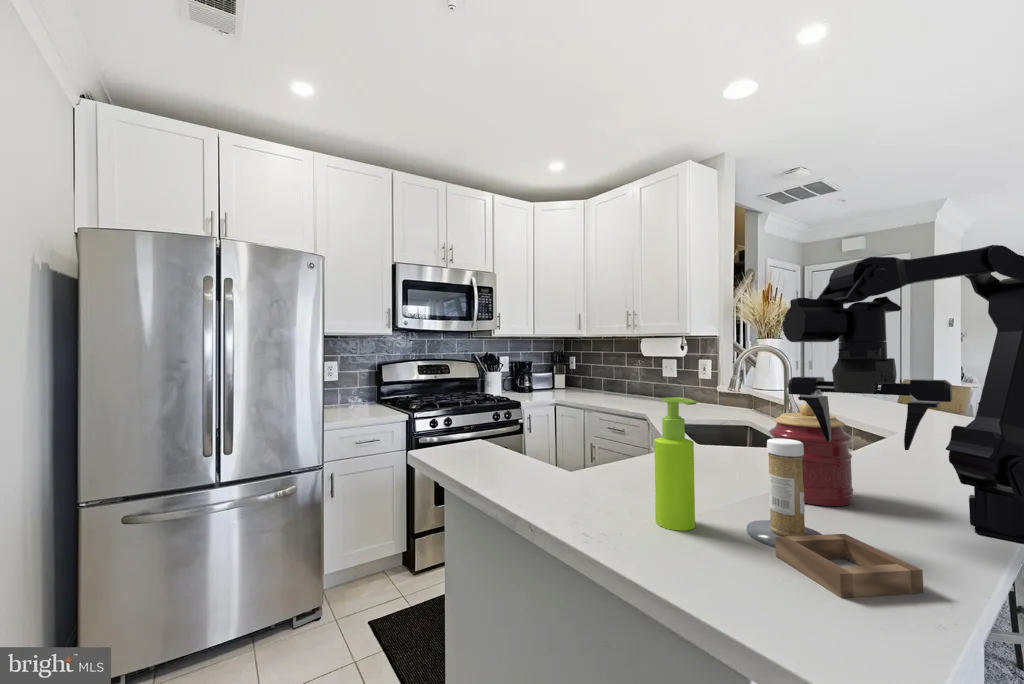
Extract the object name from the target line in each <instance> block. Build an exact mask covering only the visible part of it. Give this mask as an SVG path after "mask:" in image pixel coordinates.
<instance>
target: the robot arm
mask: <svg viewBox="0 0 1024 684" xmlns="http://www.w3.org/2000/svg"><path fill="white" fill-rule="evenodd" d="M995 272H996V273H998V274H999V275H1001V276H1004V277H1007V278H1004V279H1001V280H1000V279H999V278H997V277H996V276H994V275H993V274H992V273H995ZM958 277H965V278H966V279H968V280H969V281H970V284H971V286H972V289H973V292H974V293H976V294H977V295H978V296H979V297H981V298H982V299H984V300H985V301H987V302H988V304H987V305H988V307H987V309H988V310H987V314H988V316H989V318H990V319H991V321H992V322H993V324H994V327H995V328H996V329H997V331H996V334H995V339H994V343H993V347H992V351H991V355H990V360H989V364H988V367H987V371H986V375H985V379H984V382H983V383H984V384H983V387H982V391H981V395H980V400H979V402H978V406H977V411H976V415H975V417H974V419H973V420H971V422H970V423H968V424H967V425H966V426H961V425H957V424H956V425H955V424H954V425H953V427H952V428H951V431H950V440H949V443H948V445H947V446H946V447H945V451H949V452H948V461H949V462H948V463H949V464H951V465H952V467H953V468H954V470H955V473H956V474H957V477H958V480H959V482H960V484H962V485H965V486H970V487H973V490H974V491H973V492H974V493H973V494H970V495H968V507H969V510H968V511H969V524H970V525H971V526H972V527H974V533H975V534H980V535H984V536H990V537H995V538H997V539H998V538H1000V539H1005V540H1009V541H1015V542H1019V543H1023V544H1024V255H1023V254H1022V255H1021V254H1018V253H1016V252H1015V251H1013V250H1012V249H1011V248H1009V247H1007V246H1005V245H1000V244H999V245H998V244H992V245H991V244H990V245H986V246H984V247H979V248H975V249H969V250H963V251H956V252H950V253H949V252H948V253H942V254H937V255H936V254H934V255H930V256H924V257H922V256H921V257H916V258H908V259H906V258H899V257H895V256H870V257H866V258H863V259H860V260H857V261H853V262H850V263H847V264H843V265H841V266H837V267H835V268H834V269H833V271H832V272H831V273H830V276H829V280H828V281H829V282H828V284H827V285H826V286H825V287H824V289H823V291H821V292H820V294H819V296H818V297H817V298H809V297H797V298H793V299H790V301H789V302H790V304H789V305H790V307H789V308H788V309H787V311H786V313H785V314H784V318H783V320H782V323H781V324H782V331H783V334H784V336H785V338H786V340H787V341H789V342H790V343H832V342H835V341H836V340H838V353H837V354H838V358H837V360H836V362H835V364H834V366H833V367H832V370H831V373H832V381H831V380H830V381H829V380H825V378H824V376H794V377H791V378H790V379H789V380H788V383H787V387H788V392H787V394H788V395H796V396H797V395H799V396H797V399H798V400H799V401H804V402H806V403H807V404H808V405H809V406H810V407H811V409H812V410H813V412H814V414H815V416H816V418H817V420H818V422H819V425H820V427H821V429H822V432H823V434H824V436H825V439H826V441H831V423H830V416H831V415H830V406H829V398H828V396H827V395H824V393H838V394H840V393H841V394H861V395H883V396H884V395H885V396H887V395H888V396H904V397H905V396H907V397H908V396H909V397H910V399H912V400H910V401H909V402H907V406H906V407H907V411H906V412H907V413H906V421H905V422H906V423H905V429H904V435H903V436H904V437H903V445H904V447H903V448H904V451H909V450H910V448H911V445H912V443H913V440H914V438H915V435H916V433H917V430H918V428H919V426H920V423H921V421H922V420H923V418H924V416H925V415H926V412H927V411H928V410H929V409H930V408H931V409H935V408H936V409H937V408H939V406H940V403H941V402H943V403H944V402H946V403H947V402H949V403H951V402H952V401H953V387H952V386H953V385H952V383H951V382H950V381H948V380H946V379H923V378H922V379H921V378H920V379H919V378H918V379H917V378H915V379H914V378H912V379H910V380H909V383H906V382H905V383H903V382H902V383H901V382H900V383H899V382H896V381H897V375H898V374H897V366H896V365H897V364H896V361H895V358H893V357H892V358H891V357H889V358H888V344H887V340H888V339H887V323H886V322H887V321H886V318H887V317H886V314H887V313H888V314H889V313H894V312H900V311H901V310H902V307H901V305H899V304H898V303H896V302H894V301H892V300H891V299H890V298H889V297H888V296H880V297H875V296H879V295H883V294H886V293H889V292H892V291H895V290H899V289H902V288H903V287H905V286H907V285H911V284H913V285H914V284H918V283H919V284H920V283H924V282H933V281H939V280H944V279H945V280H946V279H951V278H958ZM870 297H875V298H874V299H872V300H871V301H866V299H868V298H870ZM848 304H850V305H849V306H848V307H845V306H844V305H848Z"/></svg>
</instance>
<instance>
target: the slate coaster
mask: <svg viewBox="0 0 1024 684" xmlns="http://www.w3.org/2000/svg"><path fill="white" fill-rule="evenodd" d="M770 524H771V523H770V519H769V520H768V519H765V520H764V519H763V520H761V519H760V520H754V521H751V522H749V523H748V524H747V525H746V533H747V535H748V536H749V537H751V538H752V539H754V540H755V541H757V542H760V543H762V544H764V545H767V546H769V547H773V548H776V543H775V537H785V536H781V535H778V534H776V533H774V532H773V531H771V529H770ZM805 531H806V535H805V536H807V535H823V533H821V532H819V531H817V530H815V529H813V528H810V527H807V526H805Z"/></svg>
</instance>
